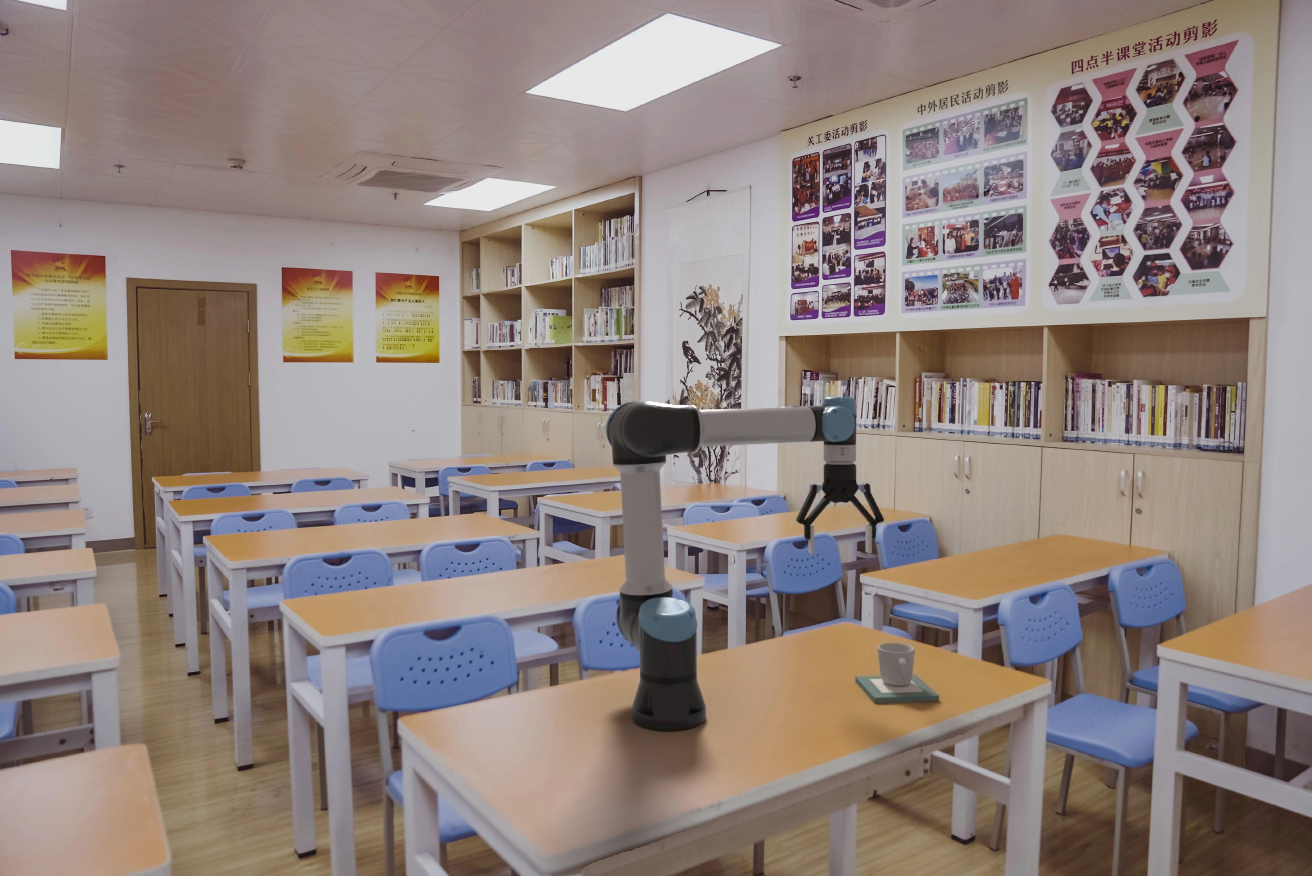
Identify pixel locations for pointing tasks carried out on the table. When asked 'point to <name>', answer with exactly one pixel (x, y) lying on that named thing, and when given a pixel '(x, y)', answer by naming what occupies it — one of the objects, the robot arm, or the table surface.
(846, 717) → the table surface
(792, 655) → the table surface
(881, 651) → the cup
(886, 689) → the board
